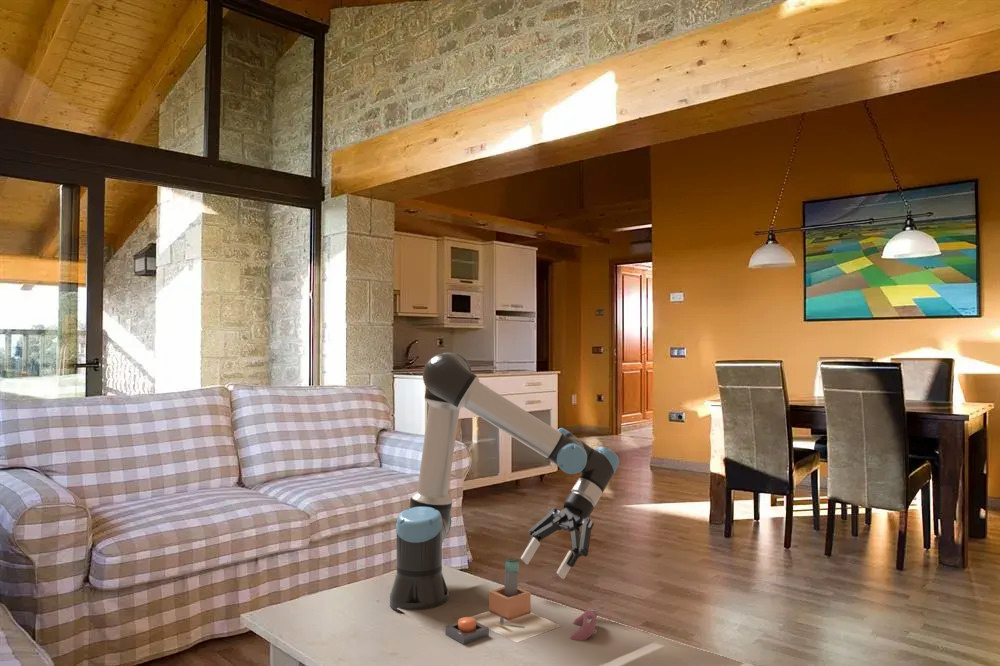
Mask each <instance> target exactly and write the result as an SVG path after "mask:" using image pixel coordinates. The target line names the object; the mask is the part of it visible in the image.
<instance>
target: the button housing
mask: <svg viewBox="0 0 1000 666" xmlns="http://www.w3.org/2000/svg"><path fill="white" fill-rule="evenodd" d="M445 635H446V636H447V637H449V638H451V639H452V640H455V641H456V642H458V643H460V644H462V645H463V646H465V645H468V644H470V643H474V642H476V641H480V640H483V639H485V638H488V637H489V636H490V629H489V628H488V627H486V626H484V625H482V624H480V623H478V622H476V630H474V631H471V632H468V633H463V632H461V631H459V630H458V622H455V623H452V624H449V625H446V626H445Z"/></svg>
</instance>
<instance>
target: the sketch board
mask: <svg viewBox="0 0 1000 666" xmlns="http://www.w3.org/2000/svg"><path fill="white" fill-rule="evenodd" d="M470 617H472V618H474V619H476V622H478V623H480V624H482V625H484V626H486V627H488V628H489V631H492V632H494V633H496V634H497V635H499V636H502V637H504V638H506V639H508V640H509V641H512V642H514V643H515V644H517V643H519V642H523V641H525V640H528V639H531V638H533V637H536V636H539V635H541V634H545V633H546V632H550V631H553V630H556V629H557V628H560V627H561V628H562V625H561V624H558V623H555V622H553V621H552V620H549V619H547V618H545V617H543V616H540V615H538V614H536V613H533V612H531V613H530V614H527V615H524V616H521V617H518V618H515V619H512V620H509V621H508V620H506V619H504V618H501V617H499V616H497V615H495V614H493V613H491V612H489V610H487V611H484V612H482V613H478V614H476V615H472V616H470Z"/></svg>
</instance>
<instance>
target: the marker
mask: <svg viewBox="0 0 1000 666" xmlns="http://www.w3.org/2000/svg"><path fill="white" fill-rule="evenodd" d="M519 567H520V560H519V559H517V558H515V557H514V558H513V557H511V558H506V559H505V568H504V569H505V571H504V572H505V573H504V587H505V589H504V596H506V597H511V596H515V595H517V590H518V588H519V569H520V568H519Z"/></svg>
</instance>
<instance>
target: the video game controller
mask: <svg viewBox="0 0 1000 666" xmlns="http://www.w3.org/2000/svg"><path fill="white" fill-rule="evenodd" d="M597 617H598V612H597V611H596V610H594V609H590V608H588V609H586V610H585V612H583V613H582V614H581V615H579V616H578V617H576V618H575V619H574V621H573V623H572V624H573V625H574V626H580V627H579V628H578V629H577V630H576V631H574V632H573V633H572V634H571V635H570V636H569V639H570V640H573V641H586V640H588V639H589V638H591V637H592V634H593V635H595V634H596V633H597V629H596V625H597V623H596V620H597Z"/></svg>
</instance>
